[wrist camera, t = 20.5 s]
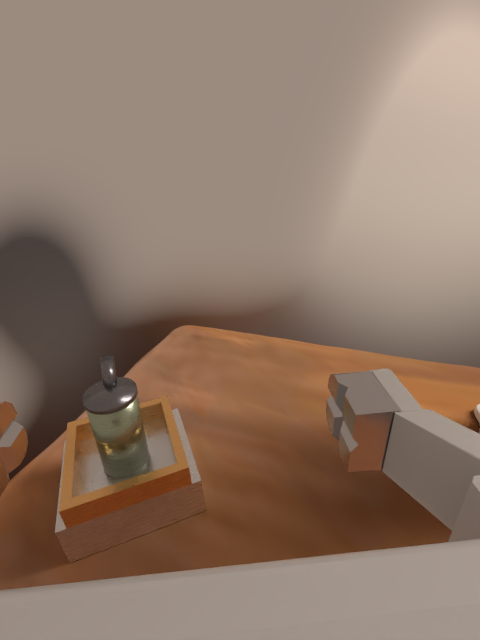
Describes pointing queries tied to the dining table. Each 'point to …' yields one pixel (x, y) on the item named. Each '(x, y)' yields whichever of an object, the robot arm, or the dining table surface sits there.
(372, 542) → the dining table surface
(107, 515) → the open wooden box
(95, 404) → the glass jar with lid
